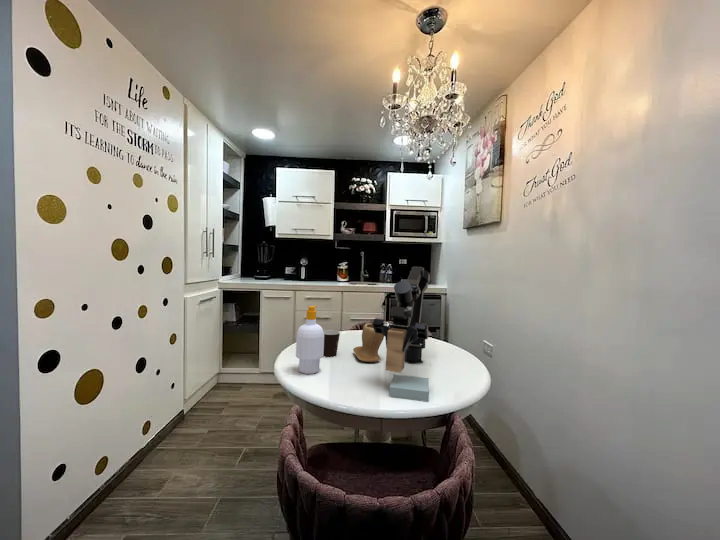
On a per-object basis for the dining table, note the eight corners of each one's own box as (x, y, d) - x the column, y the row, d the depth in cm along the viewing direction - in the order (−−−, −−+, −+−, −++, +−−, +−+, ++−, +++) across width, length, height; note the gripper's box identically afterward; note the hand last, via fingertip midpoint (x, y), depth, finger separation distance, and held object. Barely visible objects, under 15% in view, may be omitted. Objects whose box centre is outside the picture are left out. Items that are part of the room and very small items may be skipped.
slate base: (393, 382, 114) (393, 374, 114) (428, 386, 112) (428, 378, 111) (389, 396, 102) (389, 387, 102) (428, 401, 100) (428, 391, 100)
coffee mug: (331, 359, 137) (332, 335, 137) (315, 355, 141) (316, 332, 141) (346, 352, 147) (347, 330, 147) (330, 349, 152) (331, 328, 151)
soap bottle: (327, 369, 125) (330, 306, 124) (313, 377, 115) (316, 309, 114) (305, 364, 129) (307, 303, 128) (289, 372, 119) (291, 306, 119)
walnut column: (389, 365, 111) (391, 327, 111) (403, 368, 109) (406, 329, 109) (385, 370, 107) (387, 330, 106) (400, 372, 105) (402, 332, 104)
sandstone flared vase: (386, 364, 134) (388, 327, 134) (358, 364, 132) (359, 327, 132) (378, 353, 149) (379, 320, 149) (352, 353, 147) (354, 320, 147)
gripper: (375, 295, 114) (363, 332, 104) (429, 299, 108) (421, 340, 98) (380, 314, 122) (369, 351, 112) (431, 319, 115) (424, 359, 105)
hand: (395, 350), depth 106 cm, fingers closed on walnut column, 5 cm apart
